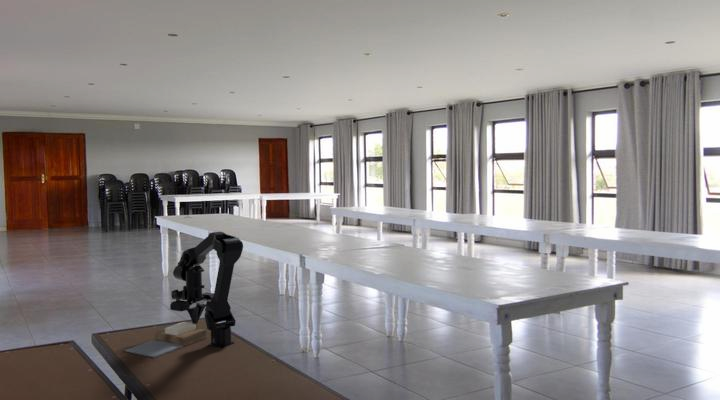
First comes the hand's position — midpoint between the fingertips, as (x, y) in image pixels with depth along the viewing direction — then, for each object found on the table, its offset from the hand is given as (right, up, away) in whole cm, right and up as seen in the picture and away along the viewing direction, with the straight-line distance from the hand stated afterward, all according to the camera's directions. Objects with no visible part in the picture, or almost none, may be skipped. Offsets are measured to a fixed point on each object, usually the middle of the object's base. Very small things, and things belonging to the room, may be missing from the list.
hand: (195, 324), depth 214 cm
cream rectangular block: (-3, -1, -6) cm, 7 cm away
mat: (-9, -5, -17) cm, 20 cm away
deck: (-3, -4, -6) cm, 8 cm away
